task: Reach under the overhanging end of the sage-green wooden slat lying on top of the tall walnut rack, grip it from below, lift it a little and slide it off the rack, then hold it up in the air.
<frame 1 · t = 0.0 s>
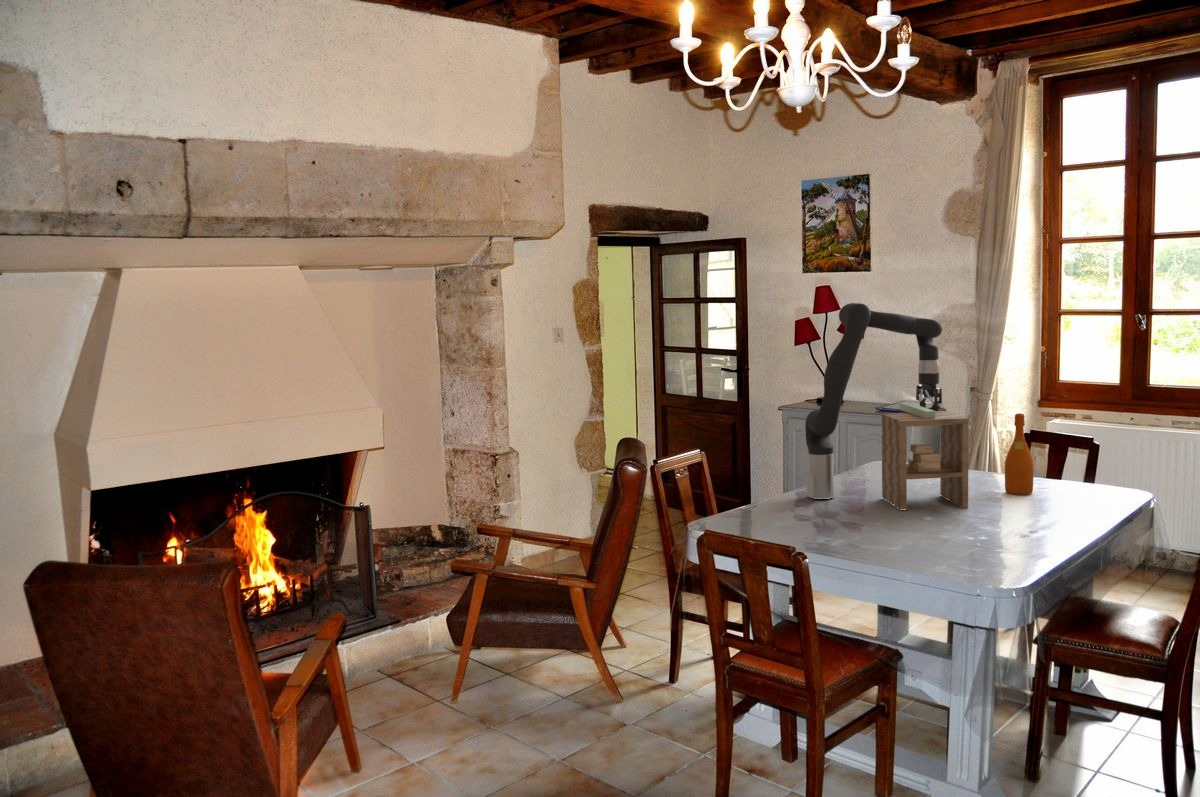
hand: (928, 413, 366), 29 cm above the table, tool pointing down, fingers open, 8 cm apart
wine bottle: (1018, 493, 355), on the table
slat: (916, 413, 348), point 32 cm above the table, touching rack
rack: (923, 503, 345), on the table
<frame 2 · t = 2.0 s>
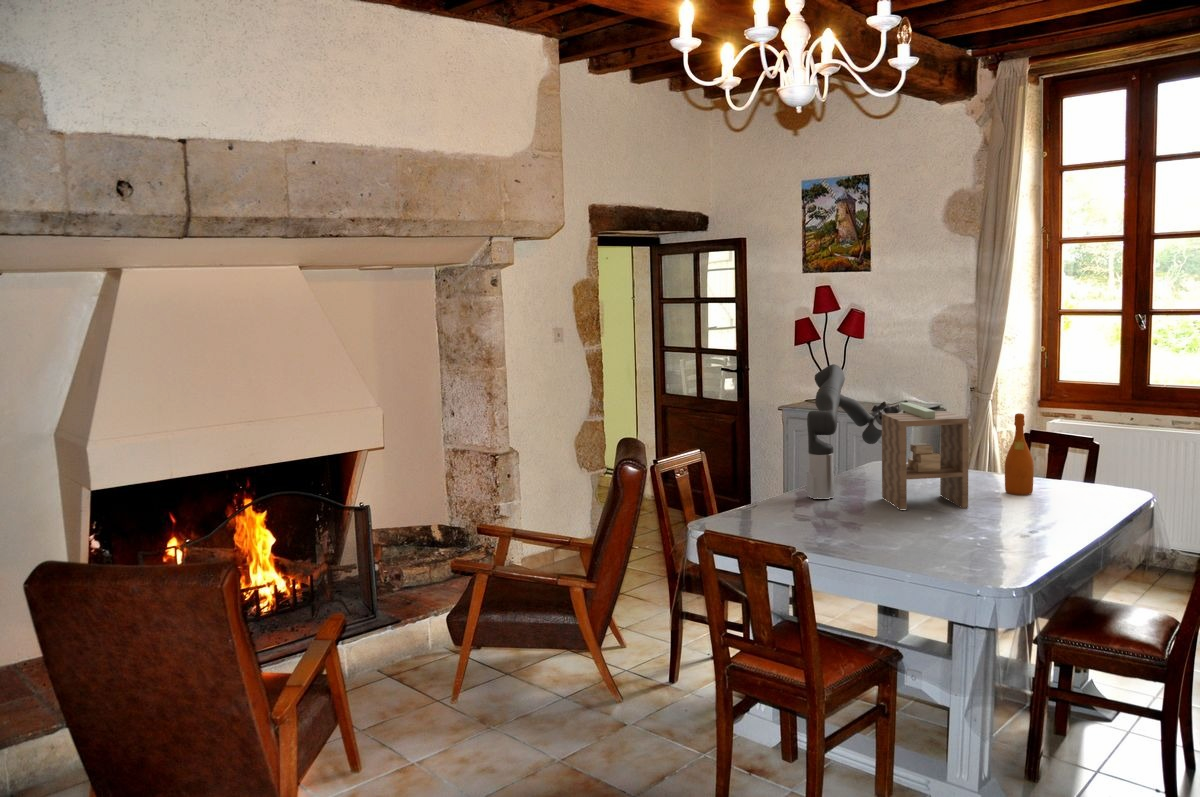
hand: (895, 403, 371), 33 cm above the table, tool pointing upward, fingers open, 8 cm apart
nothing on the table moved.
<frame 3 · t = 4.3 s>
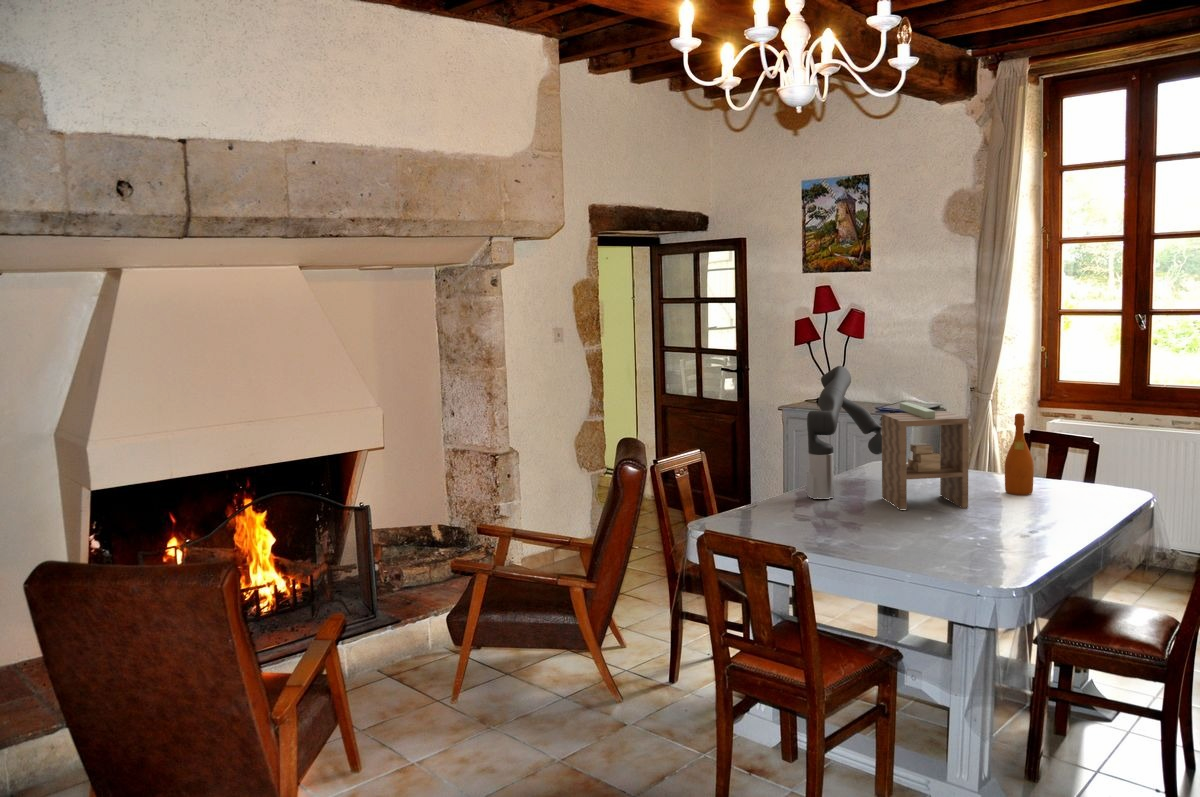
hand: (905, 411, 360), 31 cm above the table, tool pointing upward, fingers open, 8 cm apart
nothing on the table moved.
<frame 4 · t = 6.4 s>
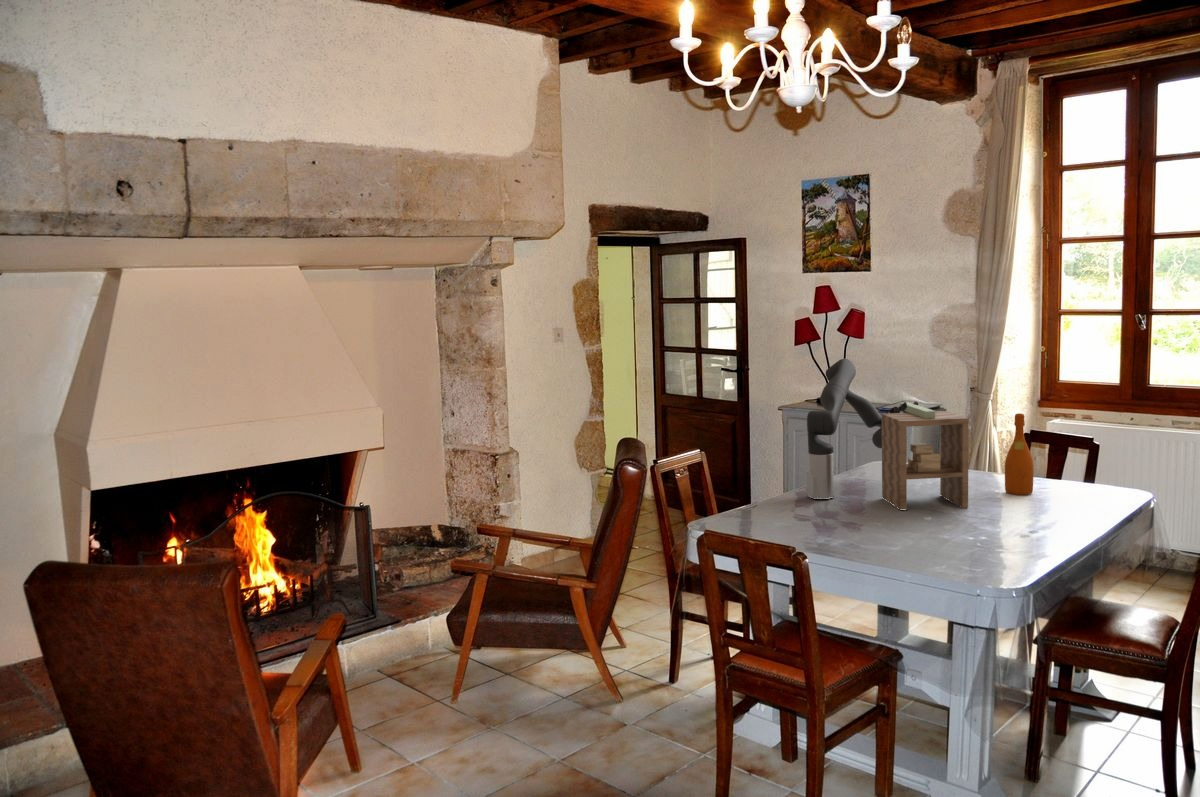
hand: (911, 404, 354), 35 cm above the table, tool pointing upward, fingers closed on slat, 3 cm apart
slat: (916, 413, 348), point 32 cm above the table, touching gripper, rack
everything else where it was.
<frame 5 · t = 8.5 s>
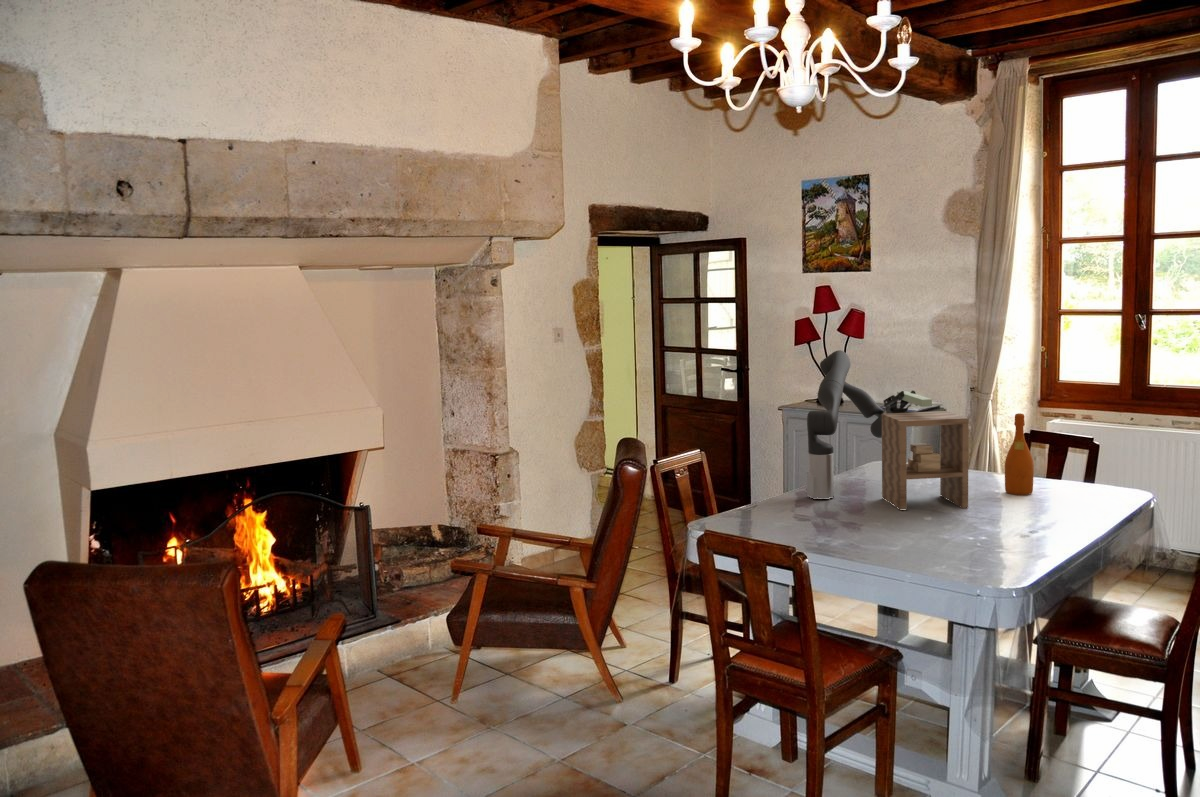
hand: (908, 393, 356), 39 cm above the table, tool pointing upward, fingers closed on slat, 3 cm apart
slat: (913, 402, 351), point 36 cm above the table, touching gripper
everything else where it was.
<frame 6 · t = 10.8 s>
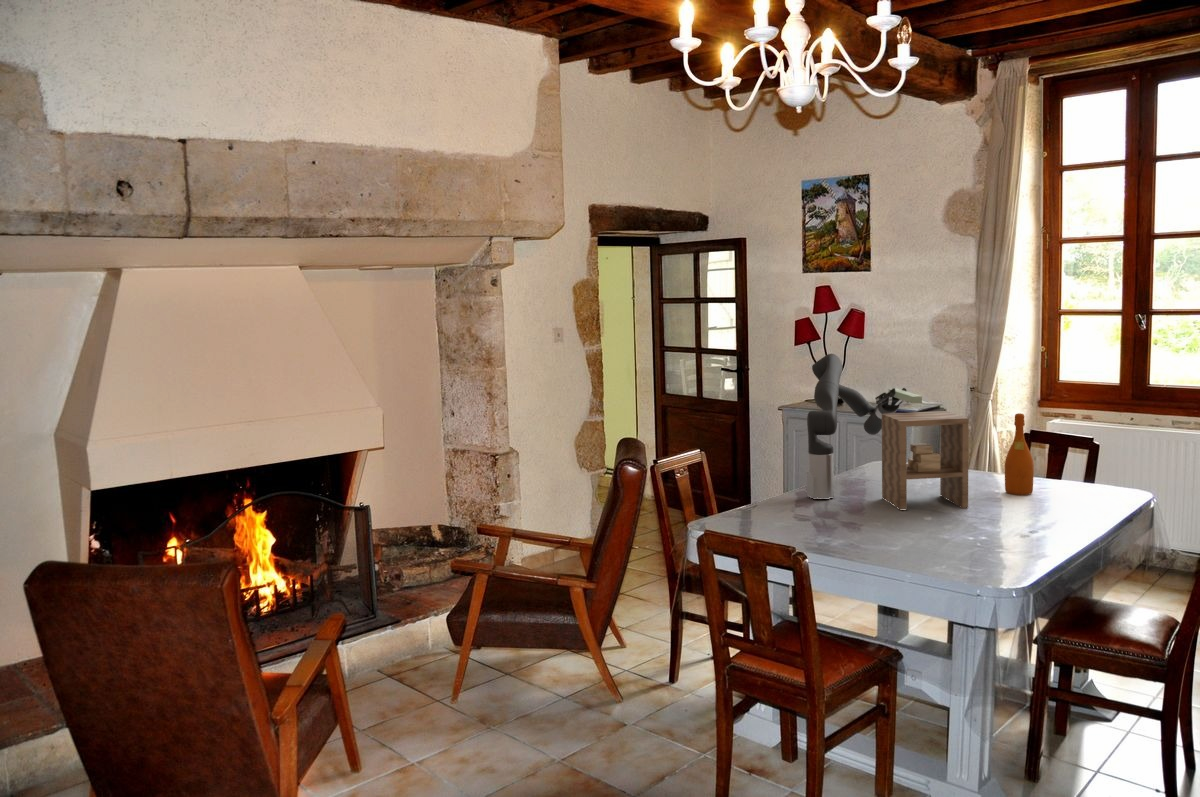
hand: (899, 390, 365), 39 cm above the table, tool pointing upward, fingers closed on slat, 3 cm apart
slat: (904, 399, 360), point 36 cm above the table, touching gripper
everything else where it was.
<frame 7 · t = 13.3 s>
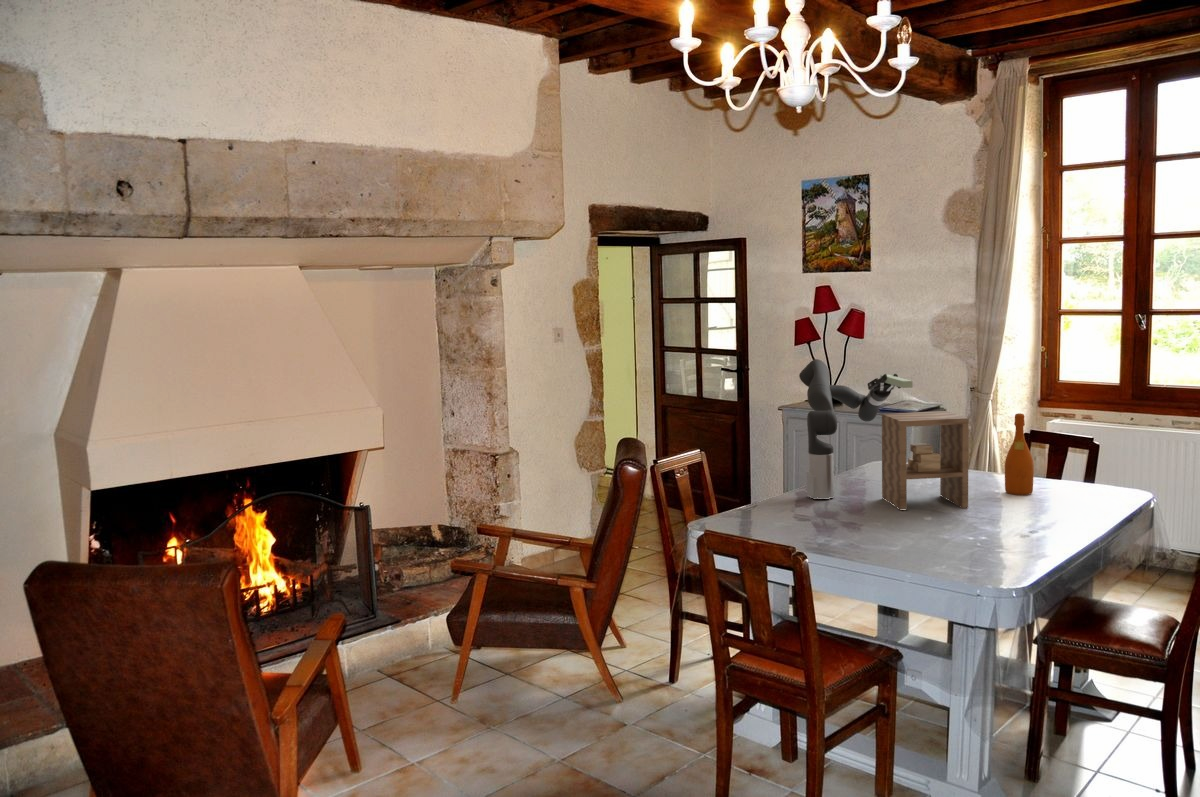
hand: (891, 376, 374), 43 cm above the table, tool pointing upward, fingers closed on slat, 3 cm apart
slat: (895, 384, 369), point 41 cm above the table, touching gripper
everything else where it was.
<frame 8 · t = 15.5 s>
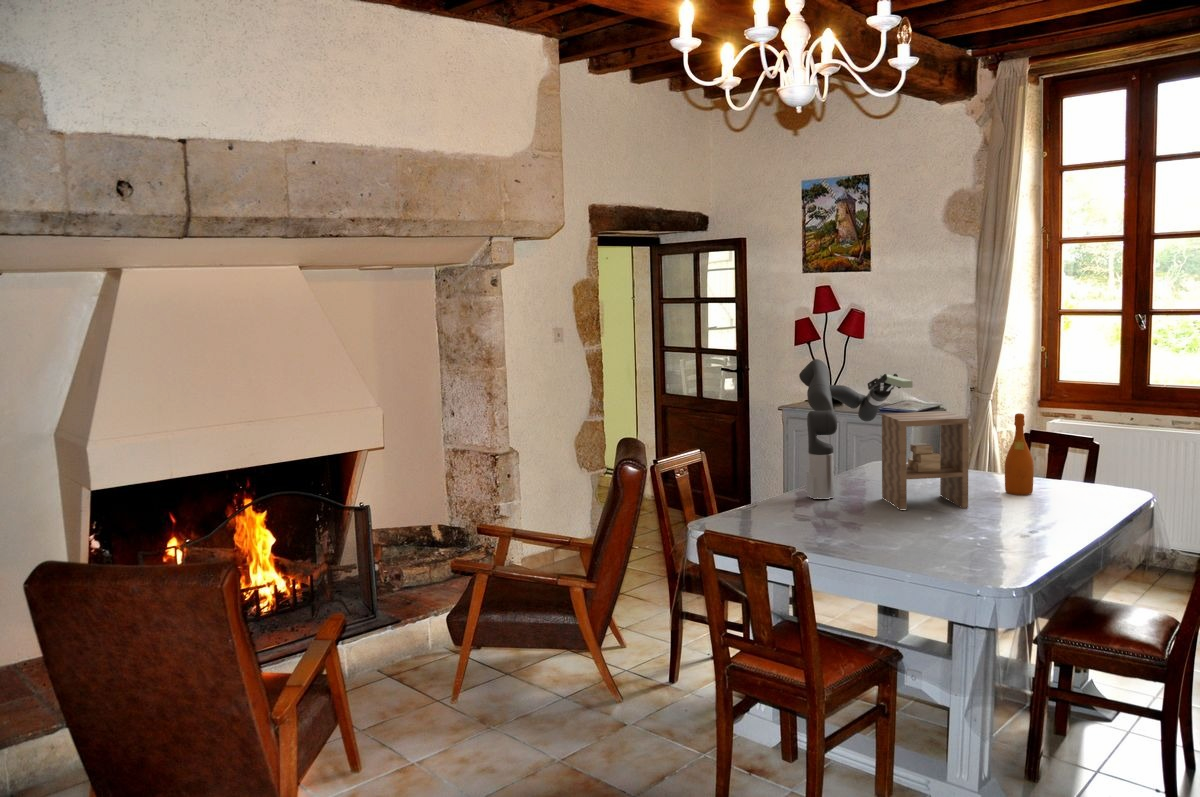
hand: (891, 376, 374), 43 cm above the table, tool pointing upward, fingers closed on slat, 3 cm apart
slat: (895, 384, 369), point 41 cm above the table, touching gripper
everything else where it was.
at the end: slat touching gripper; slat point 40.6 cm above the table; slat moved 23.6 cm from its start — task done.
